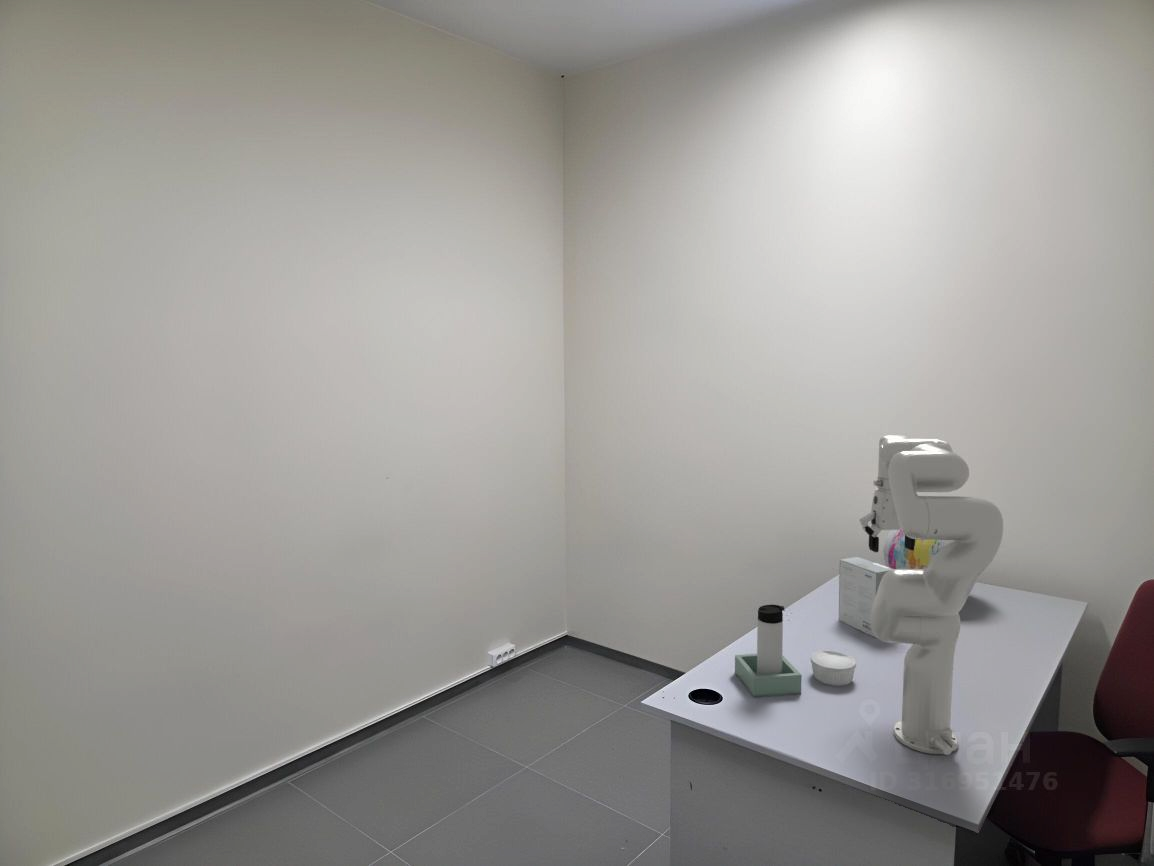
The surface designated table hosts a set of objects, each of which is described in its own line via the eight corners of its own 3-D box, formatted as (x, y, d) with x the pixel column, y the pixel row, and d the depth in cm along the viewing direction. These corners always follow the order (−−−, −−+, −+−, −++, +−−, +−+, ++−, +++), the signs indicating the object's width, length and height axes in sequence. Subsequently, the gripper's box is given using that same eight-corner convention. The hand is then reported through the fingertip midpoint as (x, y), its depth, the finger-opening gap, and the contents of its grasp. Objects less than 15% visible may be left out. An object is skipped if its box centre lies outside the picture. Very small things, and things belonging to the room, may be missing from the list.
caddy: (801, 693, 173) (801, 674, 172) (753, 697, 171) (753, 678, 171) (779, 669, 186) (779, 651, 186) (734, 673, 185) (734, 655, 184)
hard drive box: (894, 633, 208) (896, 569, 206) (874, 638, 205) (876, 573, 203) (855, 616, 222) (857, 555, 220) (837, 619, 219) (838, 558, 217)
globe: (863, 588, 247) (865, 506, 244) (930, 578, 256) (933, 499, 253) (928, 618, 219) (932, 526, 215) (1001, 606, 228) (1006, 517, 224)
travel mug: (784, 687, 175) (785, 611, 173) (757, 685, 176) (758, 610, 174) (782, 676, 181) (783, 602, 179) (756, 674, 182) (757, 601, 180)
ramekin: (854, 671, 184) (855, 652, 184) (856, 691, 174) (857, 671, 173) (810, 666, 188) (810, 647, 187) (809, 684, 178) (810, 665, 177)
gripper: (869, 488, 170) (867, 556, 172) (935, 485, 172) (932, 552, 174) (854, 482, 177) (852, 547, 179) (916, 480, 179) (914, 544, 181)
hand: (891, 549), depth 177 cm, fingers open, 9 cm apart
